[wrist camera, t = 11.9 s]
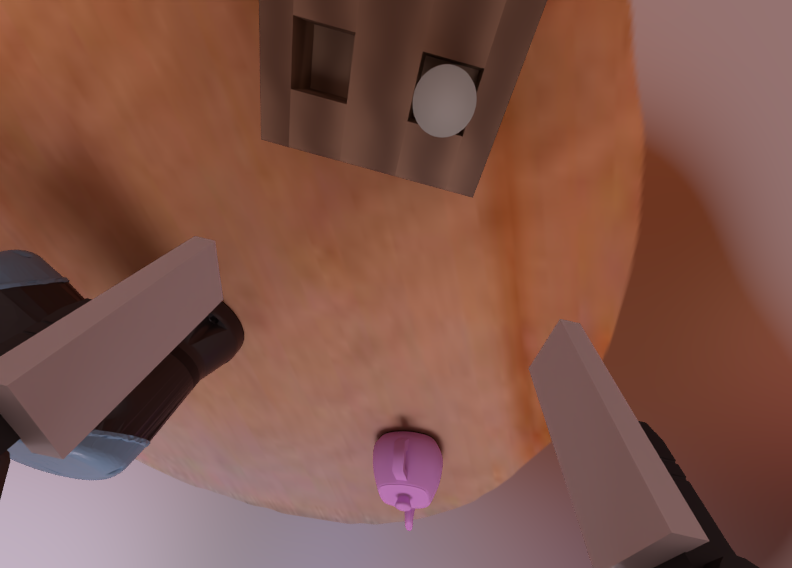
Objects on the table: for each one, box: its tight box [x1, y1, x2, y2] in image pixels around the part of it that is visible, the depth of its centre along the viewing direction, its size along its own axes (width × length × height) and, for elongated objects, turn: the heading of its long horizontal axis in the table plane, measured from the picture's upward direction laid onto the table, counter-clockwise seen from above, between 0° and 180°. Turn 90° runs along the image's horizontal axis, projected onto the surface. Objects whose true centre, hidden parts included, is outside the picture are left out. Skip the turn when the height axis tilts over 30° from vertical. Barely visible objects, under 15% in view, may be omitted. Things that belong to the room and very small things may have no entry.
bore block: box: [259, 0, 547, 197], centre depth 27 cm, size 20×14×6 cm
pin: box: [413, 64, 477, 138], centre depth 23 cm, size 3×3×14 cm
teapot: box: [373, 431, 443, 531], centre depth 59 cm, size 13×20×11 cm, turn 8°
